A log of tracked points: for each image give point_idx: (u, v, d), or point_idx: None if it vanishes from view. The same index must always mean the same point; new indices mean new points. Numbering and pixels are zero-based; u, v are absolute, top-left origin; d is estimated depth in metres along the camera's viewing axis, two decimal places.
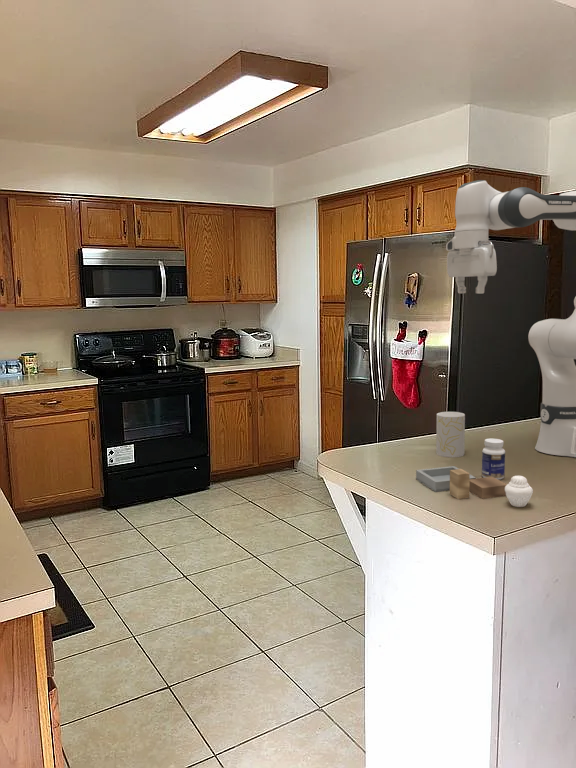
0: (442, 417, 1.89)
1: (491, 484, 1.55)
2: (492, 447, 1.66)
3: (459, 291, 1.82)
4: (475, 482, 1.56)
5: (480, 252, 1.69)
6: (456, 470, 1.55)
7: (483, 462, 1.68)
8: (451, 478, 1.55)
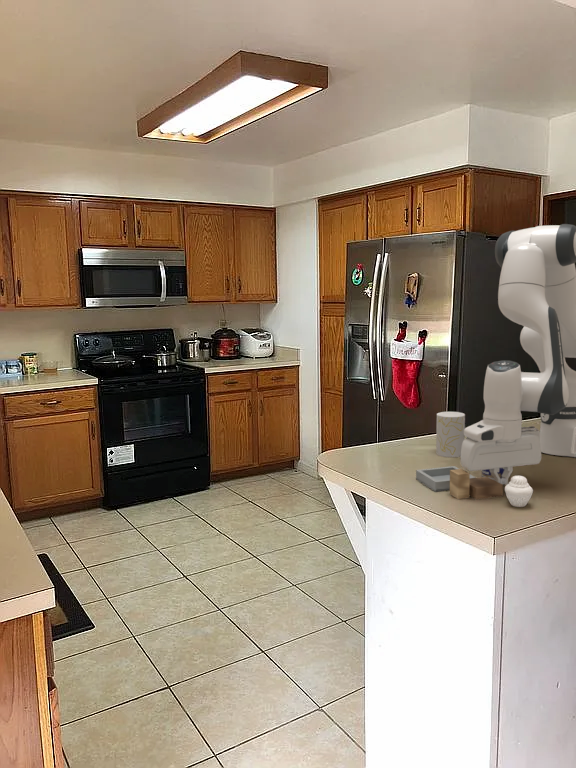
0: (442, 417, 1.89)
1: (486, 484, 1.55)
2: None
3: (500, 483, 1.56)
4: (470, 482, 1.56)
5: (534, 440, 1.56)
6: (456, 470, 1.55)
7: None
8: (451, 478, 1.55)
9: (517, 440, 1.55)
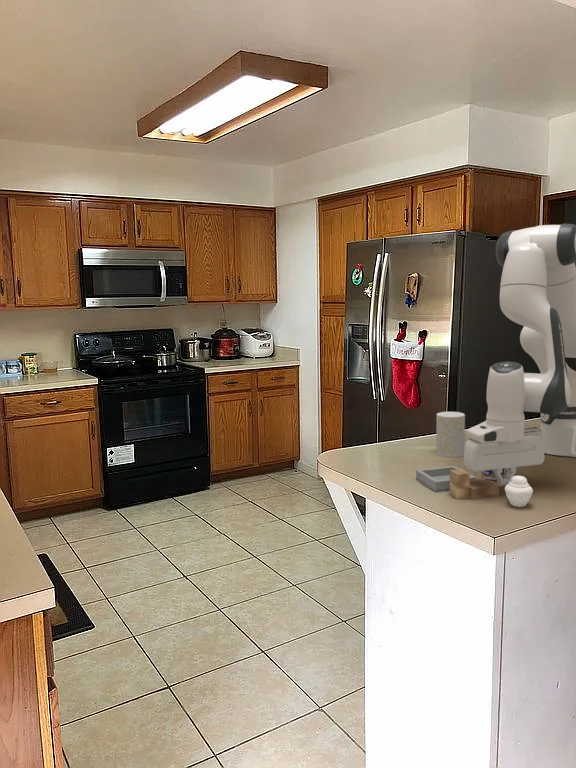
0: (442, 417, 1.89)
1: (482, 485, 1.54)
2: None
3: (503, 484, 1.57)
4: None
5: (537, 441, 1.56)
6: (456, 470, 1.55)
7: None
8: (451, 478, 1.55)
9: (520, 441, 1.55)
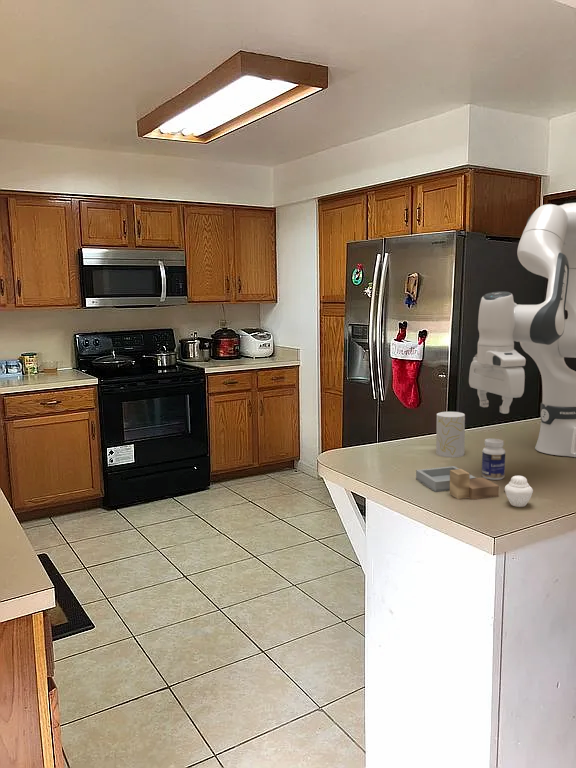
0: (442, 417, 1.89)
1: (482, 485, 1.54)
2: (492, 447, 1.66)
3: None
4: None
5: None
6: (456, 470, 1.55)
7: (483, 462, 1.68)
8: (451, 478, 1.55)
9: None
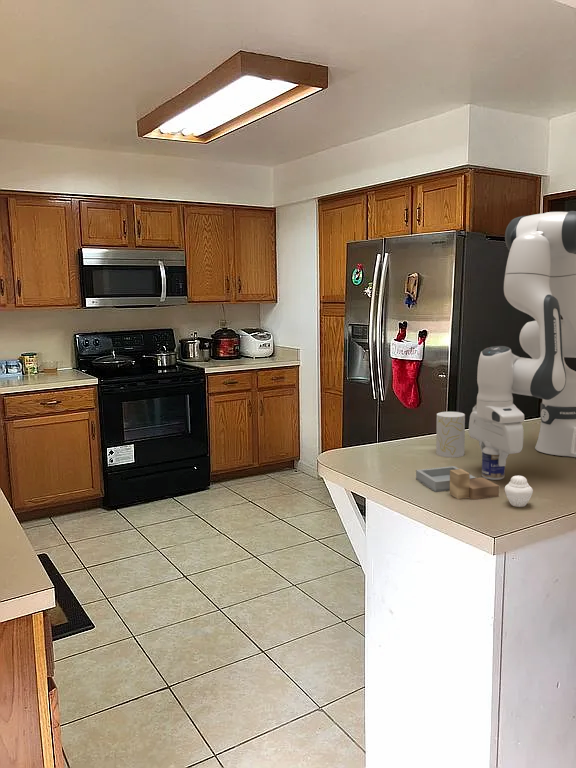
0: (442, 417, 1.89)
1: (482, 485, 1.54)
2: (491, 446, 1.66)
3: None
4: None
5: None
6: (456, 470, 1.55)
7: (483, 462, 1.68)
8: (451, 478, 1.55)
9: None
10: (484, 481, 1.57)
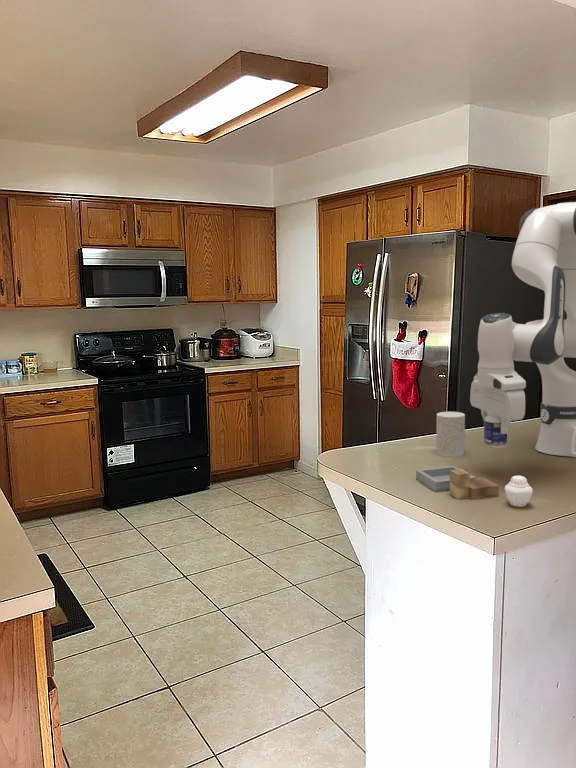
0: (442, 417, 1.89)
1: (482, 485, 1.55)
2: (493, 415, 1.65)
3: None
4: None
5: None
6: (456, 470, 1.55)
7: (485, 430, 1.67)
8: (451, 478, 1.55)
9: None
10: (484, 481, 1.57)
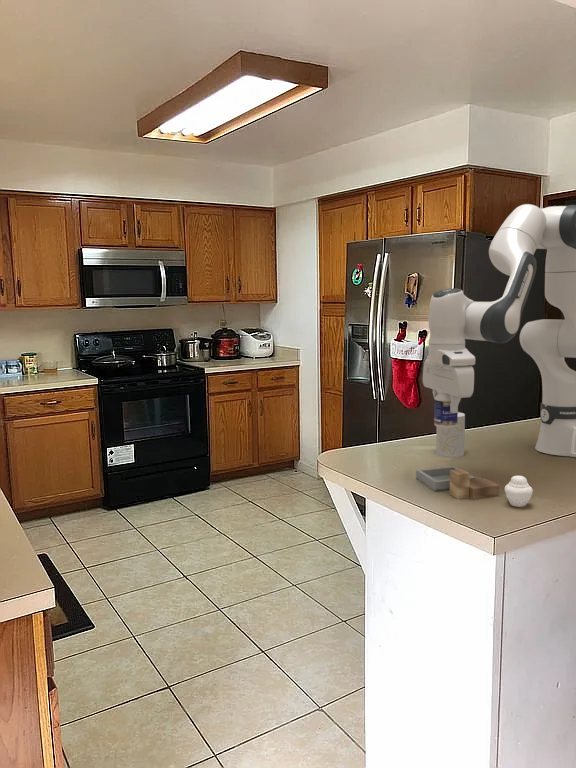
0: None
1: (482, 485, 1.55)
2: (443, 393, 1.60)
3: None
4: None
5: None
6: (456, 470, 1.55)
7: (435, 409, 1.62)
8: (451, 478, 1.55)
9: None
10: (484, 481, 1.57)
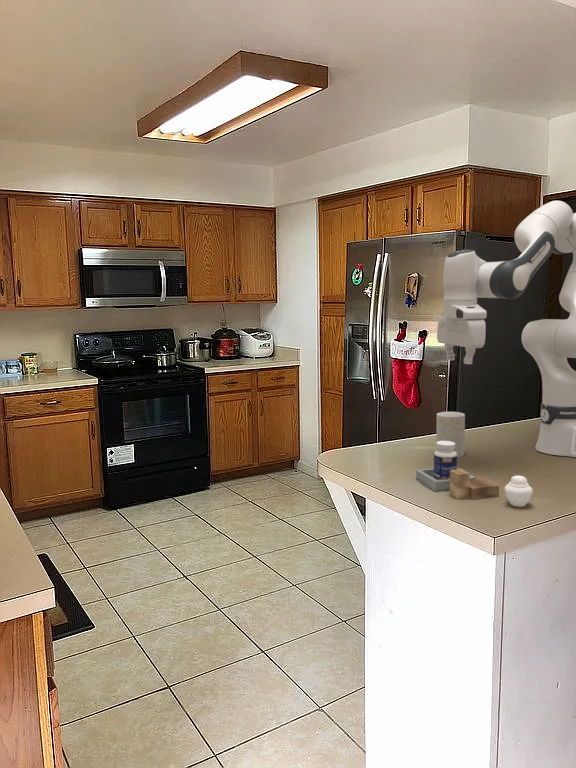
0: (442, 417, 1.89)
1: (482, 485, 1.55)
2: (443, 449, 1.62)
3: None
4: None
5: None
6: (456, 470, 1.55)
7: (434, 464, 1.65)
8: (451, 478, 1.55)
9: None
10: (484, 481, 1.57)
